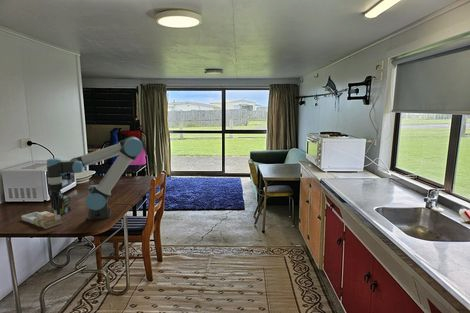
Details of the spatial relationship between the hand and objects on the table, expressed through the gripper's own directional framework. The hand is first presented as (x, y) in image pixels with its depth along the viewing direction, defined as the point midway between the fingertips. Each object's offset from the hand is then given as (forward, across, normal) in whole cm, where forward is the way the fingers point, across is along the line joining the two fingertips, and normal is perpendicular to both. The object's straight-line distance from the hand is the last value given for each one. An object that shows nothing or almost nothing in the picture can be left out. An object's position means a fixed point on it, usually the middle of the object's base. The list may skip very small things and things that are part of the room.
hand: (57, 219), depth 187 cm
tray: (+6, +27, 0) cm, 28 cm away
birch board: (+6, +12, 0) cm, 14 cm away
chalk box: (+6, +27, -18) cm, 33 cm away
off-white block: (+2, +16, 0) cm, 16 cm away
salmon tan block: (+2, +9, 0) cm, 9 cm away
